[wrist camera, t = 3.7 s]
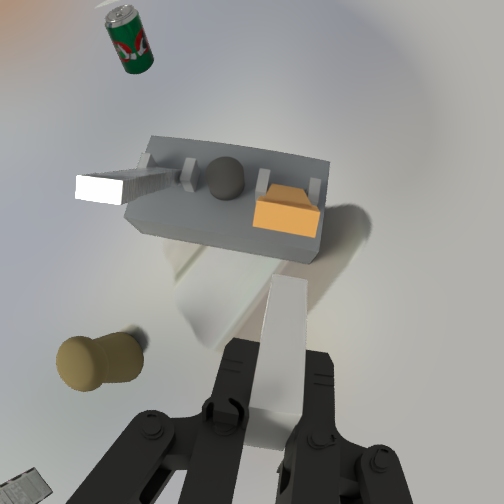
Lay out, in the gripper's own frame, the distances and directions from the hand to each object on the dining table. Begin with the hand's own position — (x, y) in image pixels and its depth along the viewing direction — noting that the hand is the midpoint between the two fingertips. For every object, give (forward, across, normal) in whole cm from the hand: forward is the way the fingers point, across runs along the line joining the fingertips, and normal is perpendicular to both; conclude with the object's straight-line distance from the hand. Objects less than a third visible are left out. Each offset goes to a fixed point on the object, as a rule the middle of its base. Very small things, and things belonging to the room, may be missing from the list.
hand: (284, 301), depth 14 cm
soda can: (+39, -27, +9) cm, 49 cm away
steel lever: (+19, -12, -2) cm, 23 cm away
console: (+24, -7, -7) cm, 25 cm away
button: (+19, -7, -3) cm, 20 cm away
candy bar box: (-10, -29, -40) cm, 51 cm away
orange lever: (+19, -1, -2) cm, 19 cm away
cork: (+10, -16, -21) cm, 28 cm away
